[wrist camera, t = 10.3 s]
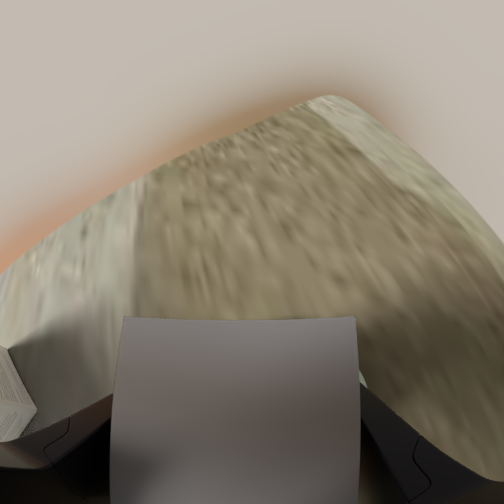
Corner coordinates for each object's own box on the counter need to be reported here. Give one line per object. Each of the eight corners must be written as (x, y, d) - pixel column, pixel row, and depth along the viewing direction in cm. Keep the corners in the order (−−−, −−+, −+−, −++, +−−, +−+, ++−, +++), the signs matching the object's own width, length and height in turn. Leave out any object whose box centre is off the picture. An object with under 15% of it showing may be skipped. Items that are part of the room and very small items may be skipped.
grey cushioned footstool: (313, 463, 13) (352, 544, 3) (216, 461, 13) (111, 518, 4) (314, 374, 15) (354, 316, 6) (220, 374, 16) (124, 316, 7)
